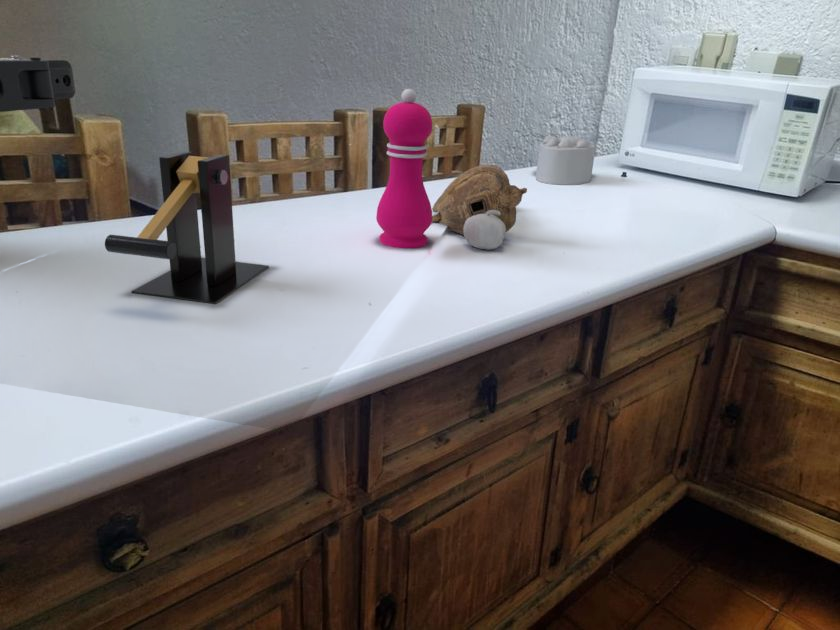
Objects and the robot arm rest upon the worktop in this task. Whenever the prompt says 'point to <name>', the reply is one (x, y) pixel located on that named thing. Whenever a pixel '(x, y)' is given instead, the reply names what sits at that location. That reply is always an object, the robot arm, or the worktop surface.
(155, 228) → the lever
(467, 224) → the garlic
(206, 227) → the bracket
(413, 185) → the pepper mill
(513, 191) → the brown wooden birdhouse
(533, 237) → the worktop surface
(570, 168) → the lumpy-topped squat cylinder
